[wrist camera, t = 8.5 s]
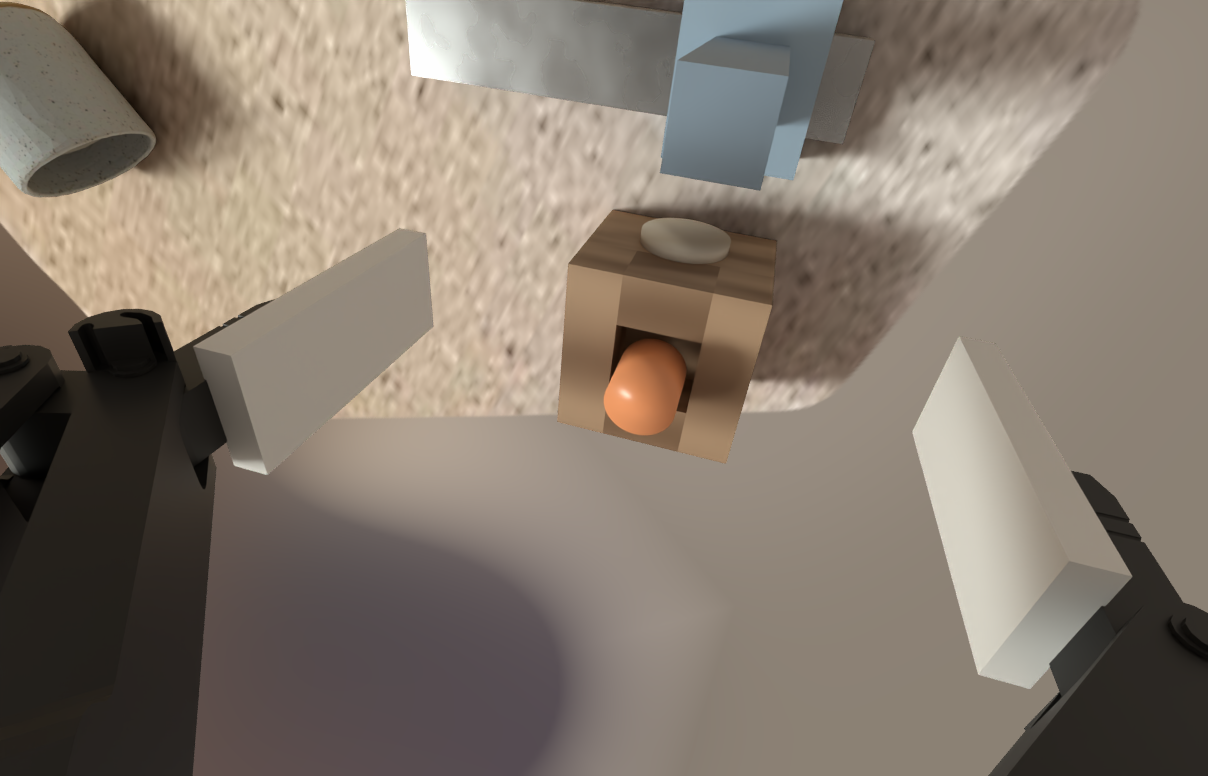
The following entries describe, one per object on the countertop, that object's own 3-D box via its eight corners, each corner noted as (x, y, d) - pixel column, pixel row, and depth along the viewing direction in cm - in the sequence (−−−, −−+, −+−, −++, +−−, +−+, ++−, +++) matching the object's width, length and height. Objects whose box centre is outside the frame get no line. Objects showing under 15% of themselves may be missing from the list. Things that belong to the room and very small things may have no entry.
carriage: (698, -27, 26) (632, -37, 15) (840, -9, 25) (874, -8, 14) (672, 143, 30) (605, 228, 19) (793, 163, 29) (792, 264, 18)
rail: (425, -22, 29) (404, -22, 27) (870, 37, 26) (875, 40, 24) (431, 70, 31) (411, 75, 30) (839, 135, 28) (842, 144, 26)
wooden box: (613, 199, 32) (569, 251, 26) (779, 229, 31) (776, 292, 25) (597, 348, 38) (557, 421, 32) (737, 380, 37) (725, 463, 30)
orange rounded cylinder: (625, 332, 28) (607, 366, 25) (692, 346, 27) (681, 384, 25) (617, 387, 30) (600, 425, 27) (680, 402, 29) (669, 442, 27)
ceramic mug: (68, -12, 34) (-94, -10, 28) (179, 121, 37) (54, 149, 31) (10, 94, 39) (-136, 114, 33) (111, 203, 42) (-6, 241, 36)
